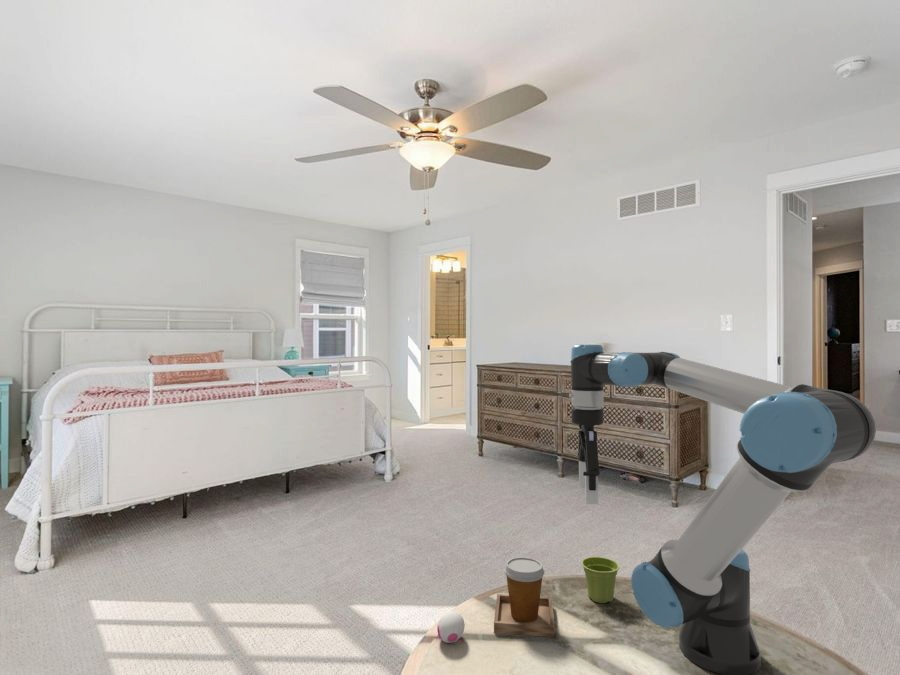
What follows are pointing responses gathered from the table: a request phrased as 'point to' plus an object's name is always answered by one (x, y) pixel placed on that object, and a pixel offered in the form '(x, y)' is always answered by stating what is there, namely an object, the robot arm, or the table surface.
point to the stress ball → (450, 627)
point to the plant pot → (600, 578)
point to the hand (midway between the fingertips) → (588, 495)
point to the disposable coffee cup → (524, 587)
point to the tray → (535, 628)
